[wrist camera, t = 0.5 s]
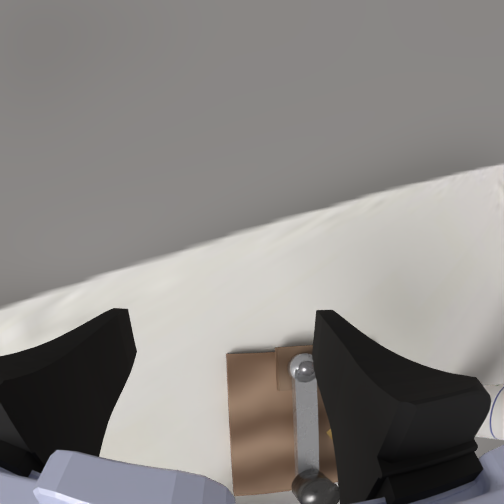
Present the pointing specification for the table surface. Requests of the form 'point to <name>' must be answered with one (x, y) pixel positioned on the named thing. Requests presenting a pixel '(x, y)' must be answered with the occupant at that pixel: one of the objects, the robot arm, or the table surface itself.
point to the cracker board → (268, 423)
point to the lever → (308, 436)
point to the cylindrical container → (494, 414)
